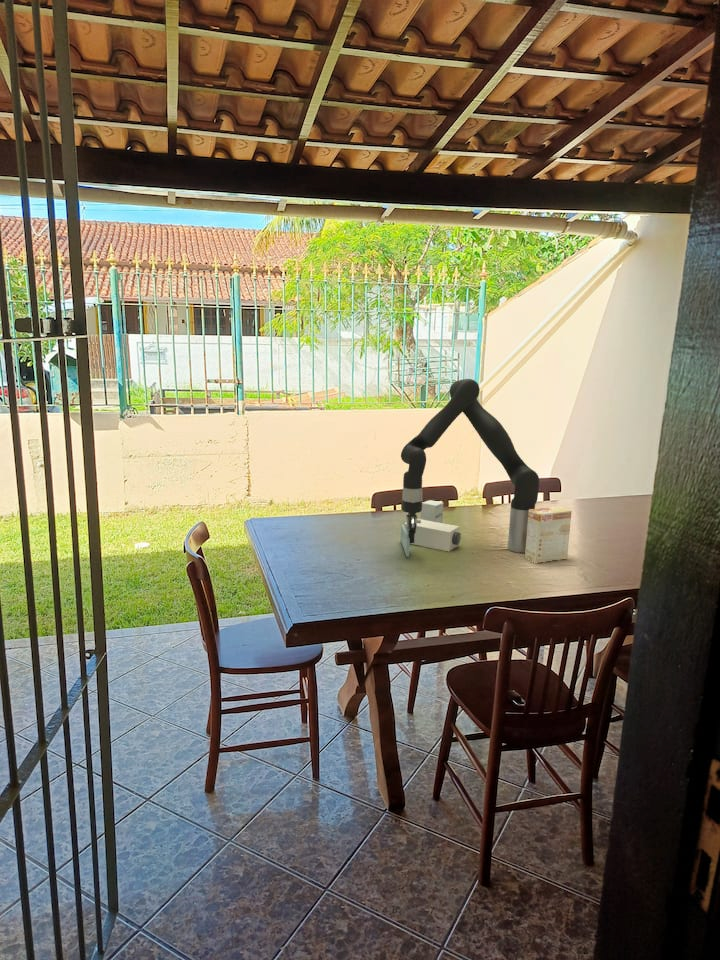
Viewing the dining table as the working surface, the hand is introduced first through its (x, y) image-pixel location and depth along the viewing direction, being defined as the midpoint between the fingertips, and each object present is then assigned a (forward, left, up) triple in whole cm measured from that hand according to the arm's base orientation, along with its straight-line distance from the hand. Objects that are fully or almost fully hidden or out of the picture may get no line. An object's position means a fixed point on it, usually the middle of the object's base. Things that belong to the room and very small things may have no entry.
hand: (411, 542), depth 238 cm
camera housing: (0, -17, -5) cm, 18 cm away
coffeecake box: (-44, -26, -5) cm, 52 cm away
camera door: (+5, -4, -4) cm, 7 cm away
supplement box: (+8, -33, -5) cm, 35 cm away
